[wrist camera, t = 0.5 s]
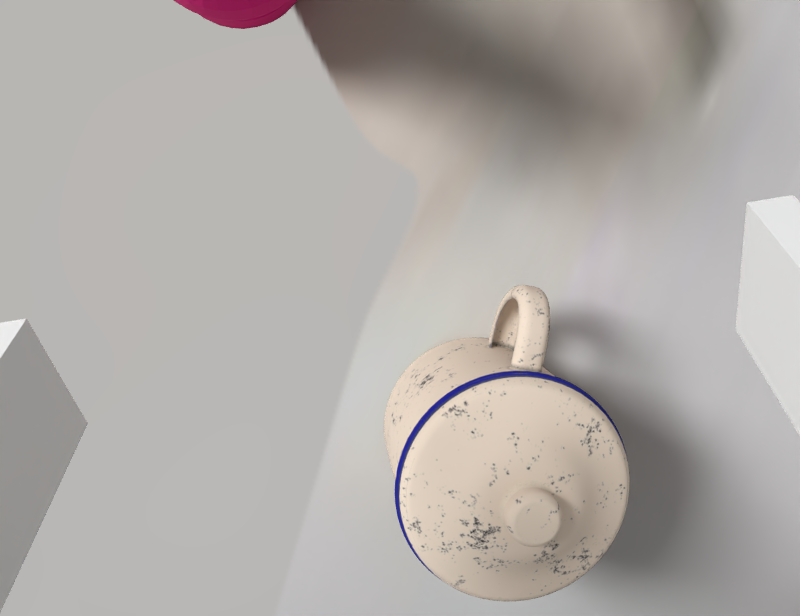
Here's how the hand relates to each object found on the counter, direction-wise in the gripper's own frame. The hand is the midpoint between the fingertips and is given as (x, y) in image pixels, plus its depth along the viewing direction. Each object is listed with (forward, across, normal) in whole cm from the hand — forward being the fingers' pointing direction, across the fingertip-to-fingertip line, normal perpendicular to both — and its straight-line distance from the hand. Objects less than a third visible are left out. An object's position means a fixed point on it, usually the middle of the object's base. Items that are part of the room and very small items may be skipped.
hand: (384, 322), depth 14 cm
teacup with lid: (+17, -1, +17) cm, 24 cm away
